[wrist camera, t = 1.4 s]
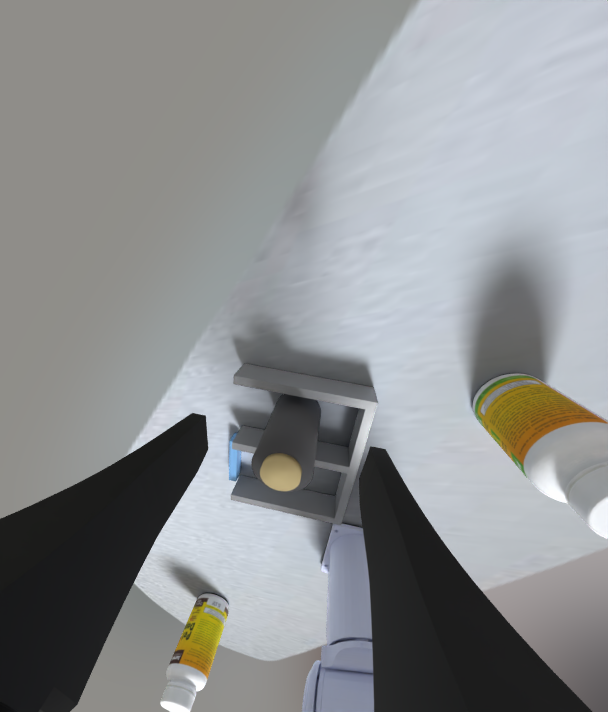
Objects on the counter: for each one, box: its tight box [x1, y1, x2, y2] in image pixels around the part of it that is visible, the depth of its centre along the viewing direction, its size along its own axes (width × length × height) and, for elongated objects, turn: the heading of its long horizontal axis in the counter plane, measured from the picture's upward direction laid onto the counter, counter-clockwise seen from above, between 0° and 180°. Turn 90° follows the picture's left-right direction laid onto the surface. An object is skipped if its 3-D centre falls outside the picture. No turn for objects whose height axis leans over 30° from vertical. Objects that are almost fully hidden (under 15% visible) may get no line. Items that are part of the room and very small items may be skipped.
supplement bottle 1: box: [160, 593, 229, 712], centre depth 35 cm, size 6×6×10 cm
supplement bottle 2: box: [473, 373, 608, 539], centre depth 15 cm, size 5×5×10 cm
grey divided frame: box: [229, 364, 378, 525], centre depth 23 cm, size 15×13×2 cm
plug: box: [252, 394, 321, 492], centre depth 20 cm, size 4×4×8 cm
